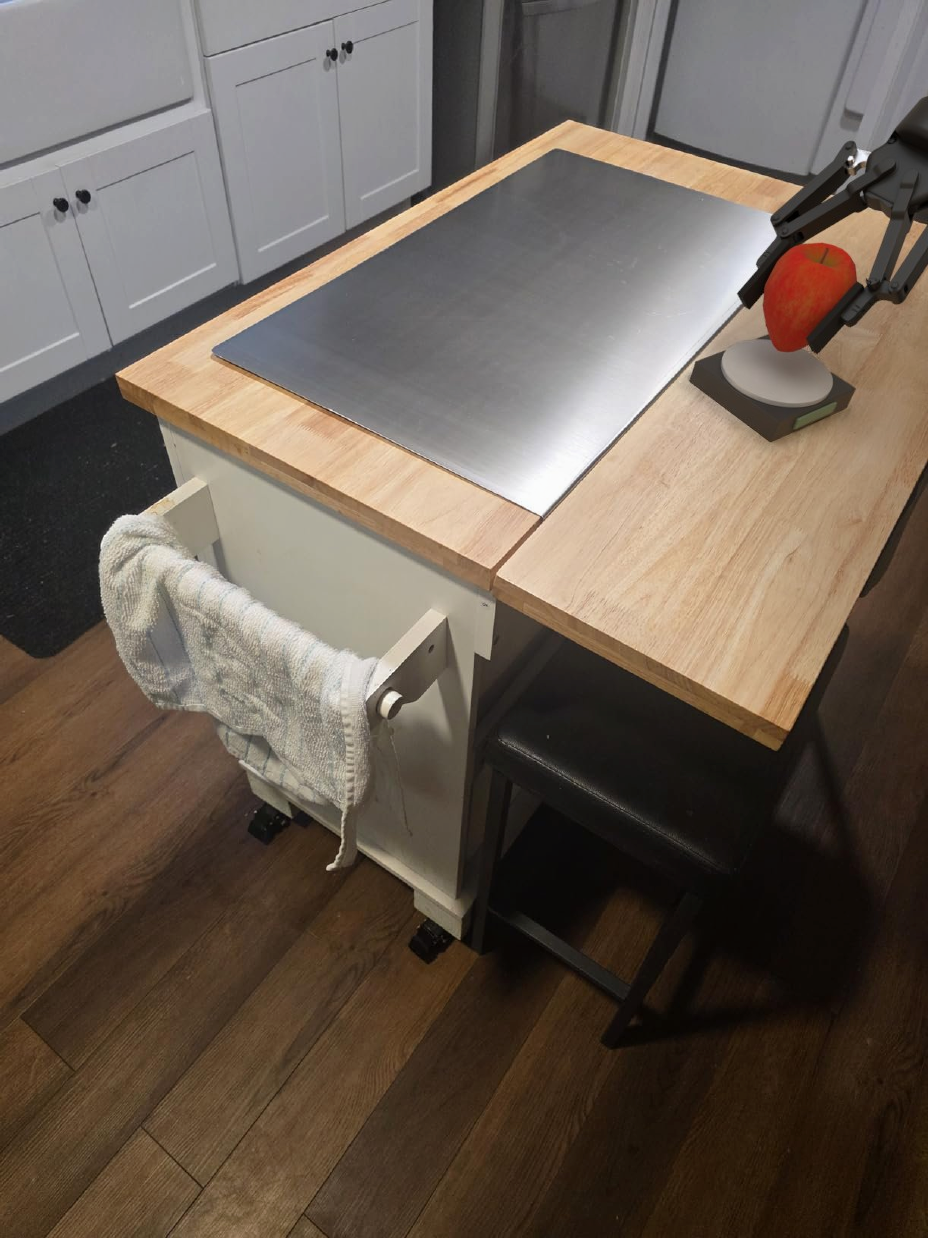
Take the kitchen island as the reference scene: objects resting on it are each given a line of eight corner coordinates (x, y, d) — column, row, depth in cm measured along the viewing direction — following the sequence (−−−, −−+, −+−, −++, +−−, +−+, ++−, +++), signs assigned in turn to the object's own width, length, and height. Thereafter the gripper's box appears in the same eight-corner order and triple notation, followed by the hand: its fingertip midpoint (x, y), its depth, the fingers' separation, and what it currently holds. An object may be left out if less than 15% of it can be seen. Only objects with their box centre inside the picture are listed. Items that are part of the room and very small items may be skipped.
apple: (805, 384, 86) (850, 281, 78) (729, 349, 89) (765, 246, 81) (840, 349, 91) (886, 249, 82) (767, 317, 94) (804, 217, 85)
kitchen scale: (848, 409, 93) (860, 384, 91) (772, 443, 88) (782, 418, 86) (764, 351, 100) (773, 327, 97) (688, 381, 95) (696, 356, 92)
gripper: (1058, 192, 78) (867, 395, 83) (869, 106, 88) (711, 291, 94) (1061, 138, 71) (854, 361, 77) (857, 53, 82) (689, 255, 88)
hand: (776, 323), depth 86 cm, fingers closed on apple, 8 cm apart
